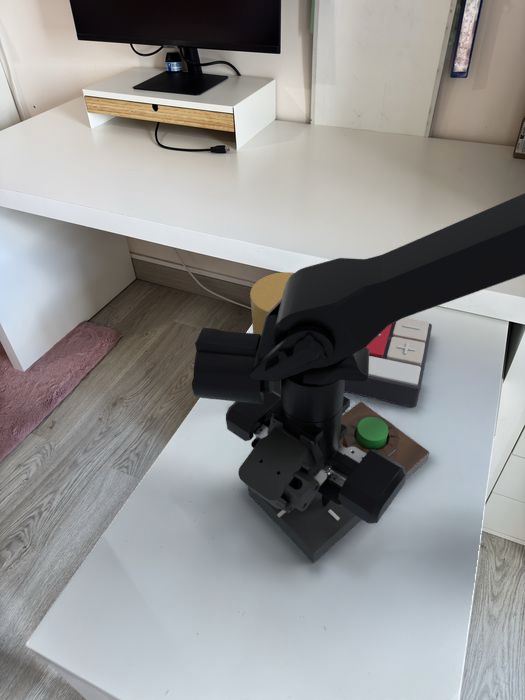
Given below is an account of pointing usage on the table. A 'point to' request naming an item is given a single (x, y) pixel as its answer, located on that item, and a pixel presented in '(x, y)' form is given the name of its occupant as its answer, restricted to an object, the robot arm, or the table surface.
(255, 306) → the desk lamp
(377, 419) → the power button
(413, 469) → the switch block
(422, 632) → the table surface
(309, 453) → the robot arm
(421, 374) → the calculator
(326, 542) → the panel
